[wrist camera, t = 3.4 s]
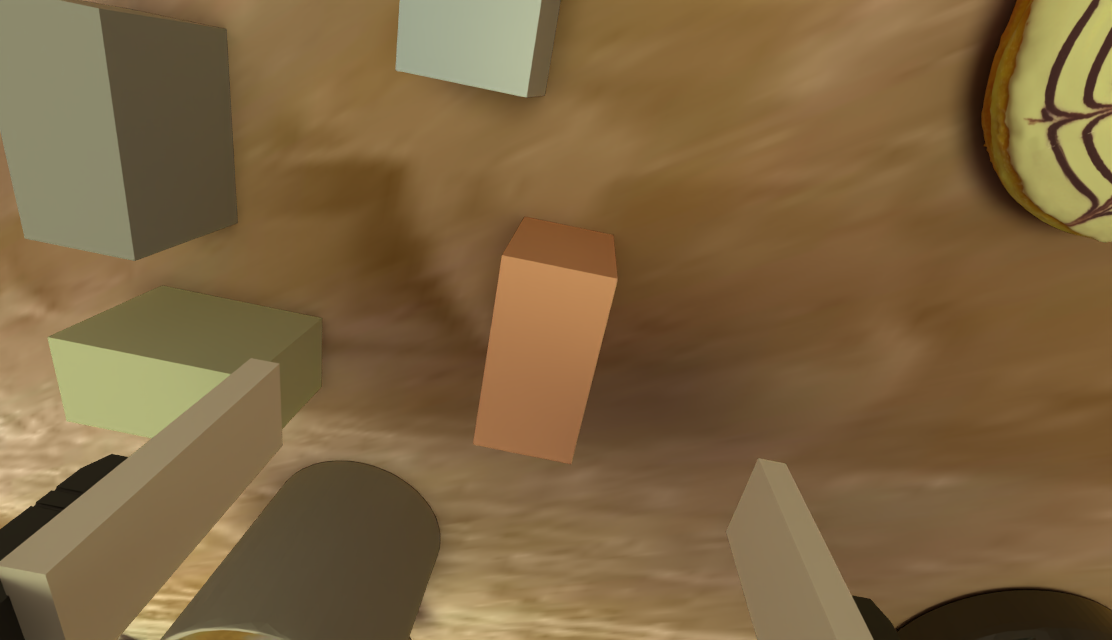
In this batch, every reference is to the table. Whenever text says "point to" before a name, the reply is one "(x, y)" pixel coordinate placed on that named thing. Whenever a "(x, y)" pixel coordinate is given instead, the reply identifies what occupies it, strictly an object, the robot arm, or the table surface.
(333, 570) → the coffee mug
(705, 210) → the table surface
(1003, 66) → the decorated donut
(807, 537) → the robot arm
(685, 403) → the table surface
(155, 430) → the brick sage
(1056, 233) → the table surface
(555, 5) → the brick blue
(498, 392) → the brick terracotta
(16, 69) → the brick slate
